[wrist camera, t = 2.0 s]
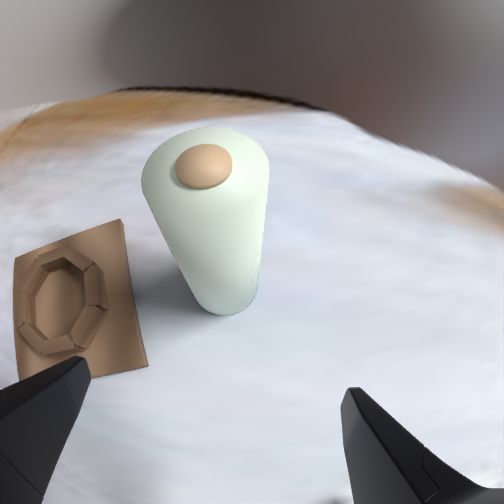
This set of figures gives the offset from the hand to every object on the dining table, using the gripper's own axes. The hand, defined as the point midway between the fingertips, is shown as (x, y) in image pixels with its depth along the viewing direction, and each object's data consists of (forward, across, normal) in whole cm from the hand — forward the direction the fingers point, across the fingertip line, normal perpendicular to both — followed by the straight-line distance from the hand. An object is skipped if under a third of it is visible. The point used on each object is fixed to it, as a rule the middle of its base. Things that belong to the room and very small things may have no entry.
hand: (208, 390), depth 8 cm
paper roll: (+16, +1, +3) cm, 16 cm away
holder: (+13, +16, +6) cm, 21 cm away
